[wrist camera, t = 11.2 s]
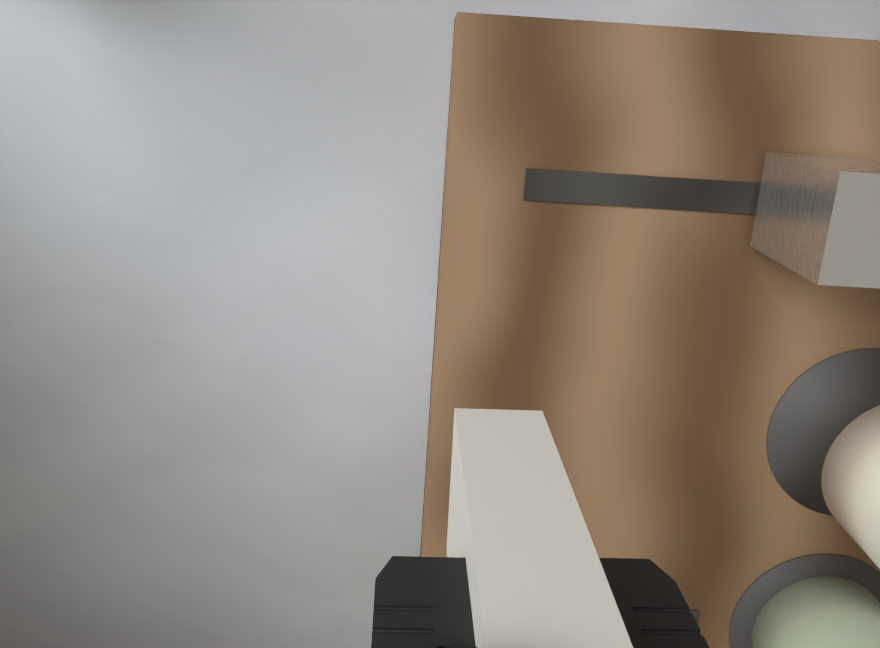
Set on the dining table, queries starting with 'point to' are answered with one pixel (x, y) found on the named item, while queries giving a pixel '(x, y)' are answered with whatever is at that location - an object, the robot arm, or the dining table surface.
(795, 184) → the slider aluminium
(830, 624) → the button sage
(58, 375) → the dining table surface
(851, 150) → the console
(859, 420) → the button ivory
